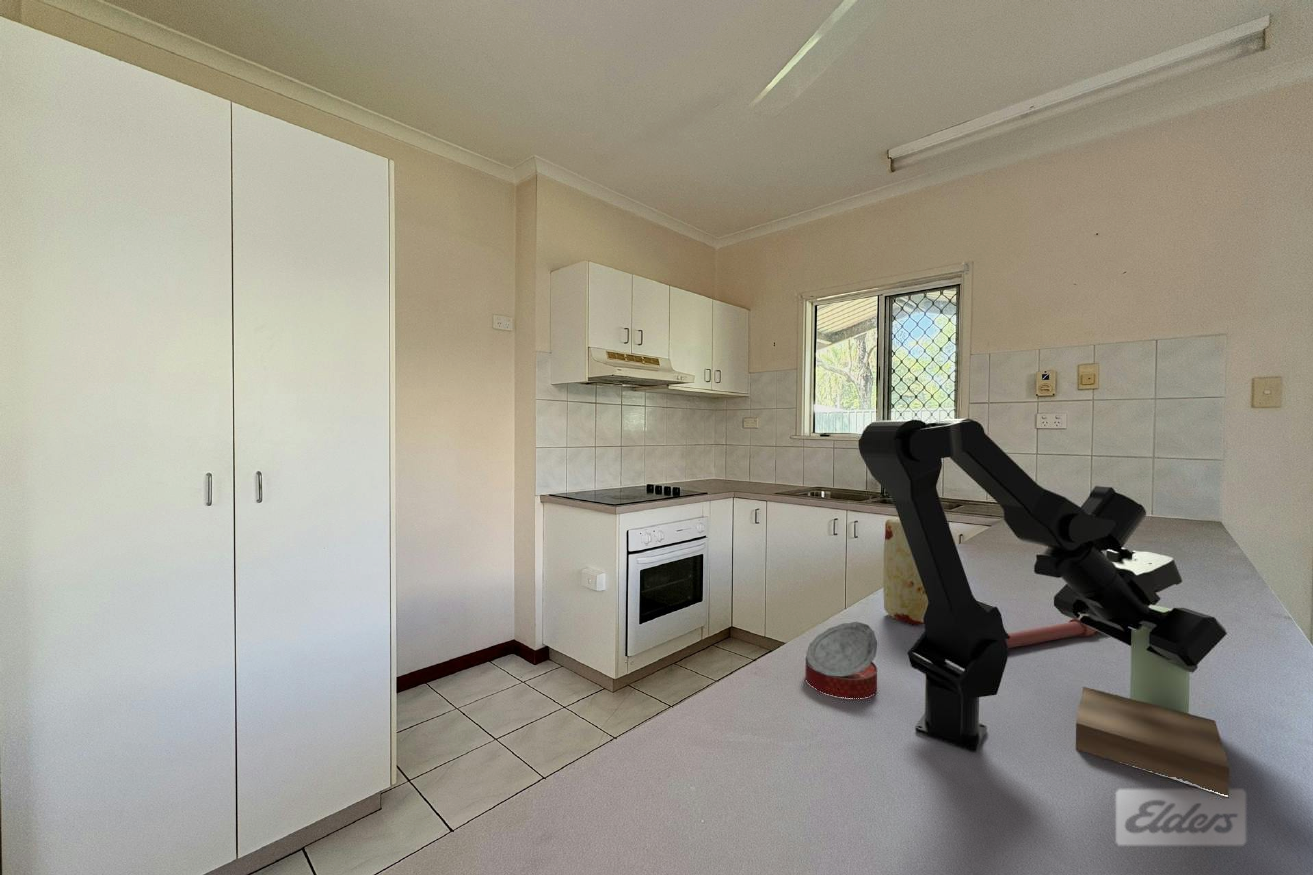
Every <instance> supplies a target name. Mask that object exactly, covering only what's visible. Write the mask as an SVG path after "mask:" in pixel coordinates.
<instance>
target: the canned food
mask: <svg viewBox="0 0 1313 875" xmlns="http://www.w3.org/2000/svg"><path fill="white" fill-rule="evenodd" d="M877 651H878V640H877V638H876V633H875V631H874V630H873V629H872V628H871V626H870V625H869V624H866V623H863V622H859V621H853V622H847V623H845V622H843V623H840V624H838V625H836V626H832V627H830V628H829V627H828V629H825V631H823V632H822V633H820V634H817V635H816V637H814V639H813V640H812V641H811V642H810V643H809V645H808V648H807V650H806V652H805V654H806V656H805V659H804V660H805V669H804V670H805V674H804V675H805V676H804V678H805V677H806V679H805V681H806V680H807V682H808V683H809V684H810V685H811V686H813V687H814V688H816V689H817V690H818V691H821V692H823V693H826V694H829V695H833V696H837V697H844V698H845V697H846V698H853V699H854V698H855V699H856V698H857V699H858V698H859V699H860V698H865V697H869V696H871V695H873V694H875V693H876V694H877V692H876V691H878V668H877V665H876V664H875V663H874V662H873V661H874V659H875V658H876V656H877ZM807 682H806V683H807ZM818 691H817V692H818ZM876 694H875V695H876ZM873 696H874V695H873Z"/></svg>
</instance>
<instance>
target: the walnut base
mask: <svg viewBox="0 0 1313 875" xmlns="http://www.w3.org/2000/svg"><path fill="white" fill-rule="evenodd" d="M1081 690H1082V691H1081V696H1080V701H1079V705H1078V706H1079V707H1078V711H1077V717H1076V721H1075V722H1076V723H1075V750H1078V749H1079V750H1078V751H1081V750H1082V752H1084V751H1085V753H1087V754H1090V753H1091V754H1090V755H1093V756H1096V755H1098V756H1097V757H1100V756H1101V757H1100V758H1103V759H1106V758H1107V760H1109V759H1110V760H1109V761H1112V760H1114V761H1113V762H1115V761H1116V762H1115V763H1118V762H1121V763H1122V765H1124V764H1128V765H1130V766H1129V767H1131V766H1135V767H1138V768H1141V769H1145V770H1147V771H1152V772H1153V773H1158V774H1161V775H1165V776H1168V777H1176V778H1177V779H1182V780H1183V781H1188V782H1190V783H1192V784H1196V785H1198V786H1200V787H1202V788H1205V789H1208V790H1212V791H1214V792H1218V793H1220V794H1224V795H1228V796H1229V797H1230V773H1231V772H1230V771H1231V770H1230V765H1229V762H1228V759H1227V756H1226V753H1225V749H1224V747H1223V746H1224V744H1223V743H1222V739H1221V735H1220V733H1219V729H1218V726H1217V723H1216V722H1217V721H1216V720H1213V719H1211V718H1207V717H1202V716H1199V715H1195V714H1191V713H1189V714H1188V713H1184V712H1180V711H1176V710H1172V709H1168V708H1164V707H1160V706H1157V705H1153V704H1149V703H1145V702H1141V701H1137V700H1133V699H1130V697H1124V696H1121V695H1117V694H1113V693H1110V692H1105V691H1103V690H1098V689H1093V688H1090V687H1086V686H1082V689H1081ZM1121 763H1120V764H1121ZM1128 765H1127V766H1128Z"/></svg>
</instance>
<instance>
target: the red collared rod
mask: <svg viewBox="0 0 1313 875" xmlns="http://www.w3.org/2000/svg"><path fill="white" fill-rule="evenodd" d="M1081 618H1082V617H1079V618H1078V619H1077V620H1075V619H1073V618H1071V619H1070V620H1069V621H1068V622H1066V623H1059V624H1054V625H1053V624H1052V625H1048V626H1042V627H1041V626H1040V627H1037V628H1030V629H1025V630H1019V631H1015V632H1008V633H1007V634H1008V635H1009V636H1010V639H1006V642H1007V646H1008V649H1012V648H1017V647H1022V646H1028V645H1033V644H1038V643H1039V644H1040V643H1043V642H1049V641H1054V640H1060V639H1064V638H1065V639H1066V638H1069V637H1073V636H1074V637H1075V636H1077V637H1080V638H1084V637H1090V636H1093V635H1094V634H1095V632H1096V633H1097V632H1098V631H1097V630H1095V629H1093V628H1091V627H1089V626H1086V625H1084V624H1082V623H1081V622H1080V619H1081Z"/></svg>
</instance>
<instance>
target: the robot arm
mask: <svg viewBox="0 0 1313 875" xmlns="http://www.w3.org/2000/svg"><path fill="white" fill-rule="evenodd" d="M857 445H858V451H859V454H860V456H861V459H862V460H863V462H864V464H865V465H866V467H867V470H868V471H869V473H870V474H871V476H872V477H873V479H874V480H875V481H876V482H877V483H879V485H880V486H881V487H882V488H883V490H885V491H886V492H887V493H888V494H889V496H890V497H891V499H892V501H893V505H894V507H895V509H896V513H897V516H898V518H899V519H900V522H901V525H902V527H903V530H904V533H905V536H906V539H907V542H908V544H909V547H910V550H911V553H912V556H913V559H914V561H915V564H916V567H917V570H918V573H919V576H920V578H921V581H922V584H923V587H924V590H925V593H926V595H927V598H928V604H927V607H926V610H925V613H924V616H923V621H924V624H923V626H924V627H923V628H924V631H923V633H922V634H921V635H920V636H919V637H918V639H917V640H916V641H915V643H914V644H913V645H912V647H911V648H910V649H909V650H908V651H907V657H908V660H909V664H910V667H911V668H912V669H914V670H917V671H919V672H921V673H922V674H924V675H925V677H924V678H925V682H924V685H925V686H924V688H925V690H924V691H925V692H924V695H925V696H924V714H923V715H922V716H921V718H920V719H919V720H918V721H917V723H916V724H915V727H914V730H915V731H916V732H917V733H920V734H923V735H924V736H928V737H932V738H933V739H936V738H937V740H940V741H942V742H945V743H947V742H948V744H951V745H954V746H956V747H959V748H962V749H964V750H967V751H970V752H972V753H973V752H975V753H976V752H977V751H978V749H979V748H980V745H981V743H982V742H983V740H984V737H985V735H986V733H987V731H988V730H987V729H988V726H986V725H985V724H982V723H981V722H979V721H980V698H983V697H991V696H997V695H998V692H999V689H1000V685H1001V681H1002V679H1003V675H1004V672H1005V668H1006V666H1007V663H1008V657H1009V648H1008V646H1007V642H1006V639H1010V636H1009V635H1008V634H1007V630H1006V629H1005V626H1004V624H1003V623H1004V622H1003V618H1002V614H1001V612H1000V610H999V608H998V607H997V606H995V605H992V604H989V603H987V602H984V601H982V600H978V599H976V598H975V596H974V594H973V592H972V589H971V585H970V583H969V581H968V580H969V579H968V577H967V574H966V571H965V569H964V566H963V563H962V560H961V556H960V553H959V551H958V548H957V545H956V543H955V539H954V536H953V533H952V531H951V527H950V525H949V522H948V519H947V515H946V513H945V510H944V507H943V503H942V502H941V499H940V495H939V492H938V489H937V485H938V481H939V478H940V474H941V471H942V467H943V461H942V460H943V459H944V458H945V459H946V458H949V459H950V460H952V461H953V462H954V463H955V465H957V466H958V468H960V470H962V471H963V472H964V473H965V474H966V475H968V477H970V479H972V480H973V481H974V482H975V483H976V484H977V485H978V486H979V487H980V488H982V490H984V491H985V493H987V494H988V495H989V496H990V497H991V498H992V499H993V500H994V501H996V502H997V504H998V505H999V506H1000V508H1002V510H1003V512H1002V514H1003V520H1004V522H1005V523H1006V525H1007V526H1008V528H1009V529H1010V530H1011V531H1012V533H1013V534H1014V535H1015V537H1017V539H1019V540H1020V541H1022V542H1025V543H1029V544H1033V545H1038V546H1039V545H1040V546H1043V547H1047V548H1046V549H1045V550H1044V551H1043V552H1042V553H1037V554H1036V555H1035V557H1036V561H1035V563H1034V564H1033V565H1034V566H1033V572H1034V574H1036V575H1041V576H1045V577H1051V578H1055V579H1060V578H1061V579H1062V580H1063V582H1064V583H1066V584H1065V585H1064V586H1063V587H1062V588H1061V589H1059V591H1058V592H1056V594H1055V595H1054V596H1053V607H1055V608H1056V610H1057V611H1059V613H1061V615H1063V616H1066V617H1068V618H1070V619H1075V620H1077V619H1078V618H1081V619H1080V622H1081V623H1082V624H1084V625H1086V626H1089V627H1091V628H1093V629H1095V630H1097V632H1099V633H1101V634H1104V635H1106V636H1108V637H1110V638H1112V639H1115V640H1117V641H1119V642H1120V643H1122V644H1125V645H1127V646H1129V647H1131V631H1132V629H1133V630H1136V631H1137V630H1139V629H1140V628H1141V627H1142V626H1145V627H1148V628H1150V629H1153V630H1152V631H1151V632H1150V633H1149V644H1150V646H1149V647H1148V648H1147V649H1146V650H1147V651H1149V652H1151V653H1153V654H1155V655H1157V656H1159V657H1161V658H1163V659H1165V660H1167V661H1169V662H1171V663H1173V664H1175V665H1177V666H1179V667H1181V668H1183V669H1185V670H1187V671H1189V672H1190V674H1193V673H1194V672H1195V671H1197V669H1198V667H1199V664H1200V663H1201V661H1202V660H1203V659H1204V658H1206V657H1207V655H1208V654H1209V653H1210V652H1212V650H1213V649H1214V648H1215V647H1216V646H1217V645H1218V644H1219V643H1220V642H1221V641H1222V640H1223V639H1224V638H1225V636H1227V635H1228V633H1227V629H1225V627H1224V626H1223V625H1222V624H1221V623H1220V622H1219V620H1217V618H1216V617H1215V616H1212V615H1208V614H1205V613H1202V612H1199V611H1196V610H1192V609H1190V608H1186V607H1173V608H1171V609H1172V610H1171V611H1167V612H1164V613H1163V612H1160V611H1157V610H1154V609H1151V608H1149V606H1150V605H1153V606H1156V604H1157V603H1158V602H1160V600H1161V597H1160V596H1159V595H1158V594H1157V593H1160V592H1161V591H1164V590H1166V589H1168V588H1170V587H1172V586H1174V585H1176V586H1177V585H1179V584H1181V583H1183V579H1182V576H1181V574H1180V571H1179V569H1178V566H1177V564H1176V562H1175V560H1174V558H1173V557H1172V556H1169V555H1164V554H1158V553H1156V552H1151V551H1139V550H1135V549H1134V550H1132V551H1130V550H1129V549H1127V548H1125V547H1124V546H1125V545H1126V543H1127V541H1129V539H1130V538H1131V536H1132V535H1133V534H1134V532H1135V531H1136V530H1137V528H1138V527H1139V526H1140V525H1141V523H1142V522H1143V521H1144V519H1145V518H1146V516H1147V510H1146V509H1145V507H1144V506H1143V505H1142V504H1141V503H1138V501H1135V500H1133V499H1132V498H1130V497H1128V496H1127V495H1124V494H1121V493H1119V492H1117V491H1116V490H1115V489H1114V488H1113V487H1112V486H1104V485H1095V486H1094V487H1093V489H1092V490H1091V492H1090V493H1089V496H1088V497H1087V498H1086V500H1085V501H1084V502H1083V503H1082V504H1081V506H1080V505H1079V504H1076V503H1075V502H1074V501H1072V500H1070V499H1069V498H1067V497H1066V496H1064V495H1062V494H1059V493H1056V492H1053V491H1051V490H1049V489H1046V488H1044V487H1043V486H1041V485H1039V484H1038V483H1037V482H1036V480H1034V479H1033V478H1032V477H1031V476H1030V475H1029V474H1028V473H1027V472H1026V471H1025V470H1023V468H1022V467H1020V466H1019V464H1018V463H1017V462H1015V461H1014V460H1013V459H1012V458H1011V457H1010V455H1008V454H1007V453H1006V452H1005V451H1004V450H1003V448H1001V447H1000V446H999V445H998V444H997V443H996V442H995V441H994V440H993V439H992V438H991V437H990V436H989V435H988V434H987V433H986V432H985V429H984V427H983V425H982V424H981V423H980V422H978V421H976V420H974V419H972V418H947V419H941V420H938V421H934V422H924V421H922V420H921V419H894V420H893V419H891V420H890V419H889V420H888V419H887V420H884V419H883V420H876V421H873V422H871V423H870V424H868V425H867V426H866V427H865V428H864V429H863V431H862V433H861V436H860V438H859V439H858V444H857ZM1103 551H1106V554H1105V553H1104V552H1103ZM947 661H948V662H947ZM950 662H951V663H952V664H951V663H950ZM953 664H954V665H956V666H958V667H959V668H958V667H956V666H954V665H953ZM960 668H962V669H964V670H962V669H960Z"/></svg>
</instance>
